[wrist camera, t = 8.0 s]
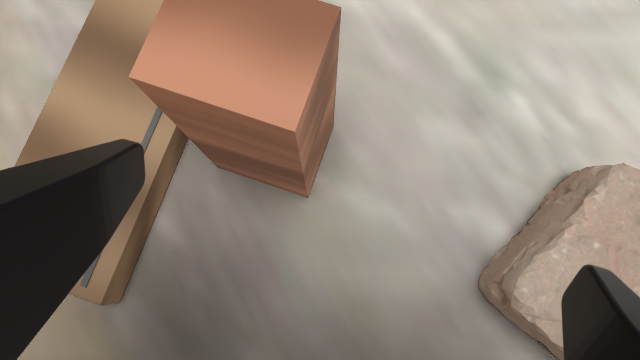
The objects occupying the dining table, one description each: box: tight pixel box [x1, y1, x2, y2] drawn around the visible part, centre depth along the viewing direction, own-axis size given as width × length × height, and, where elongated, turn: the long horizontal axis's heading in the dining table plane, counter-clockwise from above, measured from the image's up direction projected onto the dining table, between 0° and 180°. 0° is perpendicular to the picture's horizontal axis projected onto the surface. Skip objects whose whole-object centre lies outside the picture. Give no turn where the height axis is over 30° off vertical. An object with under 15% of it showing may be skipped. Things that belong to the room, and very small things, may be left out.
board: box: [15, 0, 188, 305], centre depth 24 cm, size 22×6×2 cm, turn 161°
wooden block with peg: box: [129, 0, 341, 197], centre depth 19 cm, size 8×5×11 cm, turn 161°
